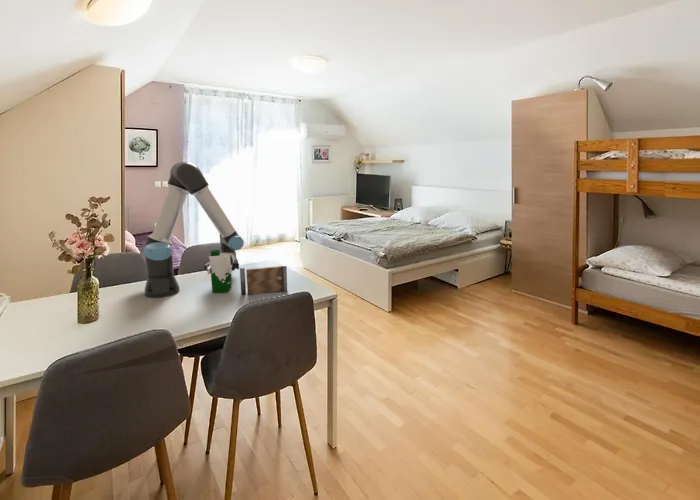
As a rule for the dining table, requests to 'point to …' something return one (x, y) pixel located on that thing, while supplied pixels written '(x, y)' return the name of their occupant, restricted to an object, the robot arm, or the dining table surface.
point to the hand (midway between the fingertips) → (219, 271)
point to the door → (264, 279)
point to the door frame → (243, 285)
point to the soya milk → (220, 271)
